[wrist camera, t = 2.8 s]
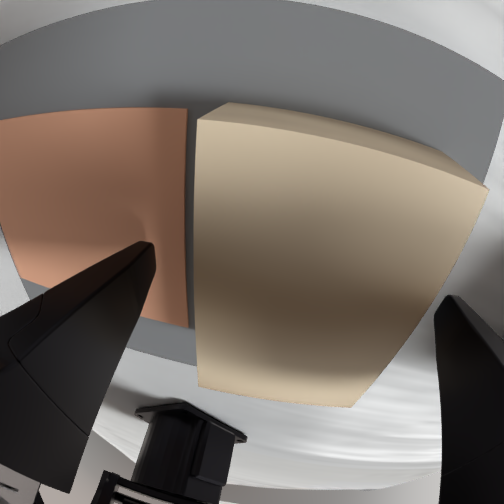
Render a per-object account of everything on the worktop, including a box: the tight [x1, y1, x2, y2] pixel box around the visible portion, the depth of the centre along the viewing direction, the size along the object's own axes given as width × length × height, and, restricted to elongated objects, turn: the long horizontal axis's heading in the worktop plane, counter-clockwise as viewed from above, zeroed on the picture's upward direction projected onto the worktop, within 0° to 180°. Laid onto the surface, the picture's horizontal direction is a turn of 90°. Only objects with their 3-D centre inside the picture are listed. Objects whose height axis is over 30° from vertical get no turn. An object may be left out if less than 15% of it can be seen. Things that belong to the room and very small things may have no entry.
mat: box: [0, 0, 504, 366], centre depth 9 cm, size 14×18×1 cm
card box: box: [194, 102, 489, 408], centre depth 8 cm, size 8×6×2 cm, turn 173°
